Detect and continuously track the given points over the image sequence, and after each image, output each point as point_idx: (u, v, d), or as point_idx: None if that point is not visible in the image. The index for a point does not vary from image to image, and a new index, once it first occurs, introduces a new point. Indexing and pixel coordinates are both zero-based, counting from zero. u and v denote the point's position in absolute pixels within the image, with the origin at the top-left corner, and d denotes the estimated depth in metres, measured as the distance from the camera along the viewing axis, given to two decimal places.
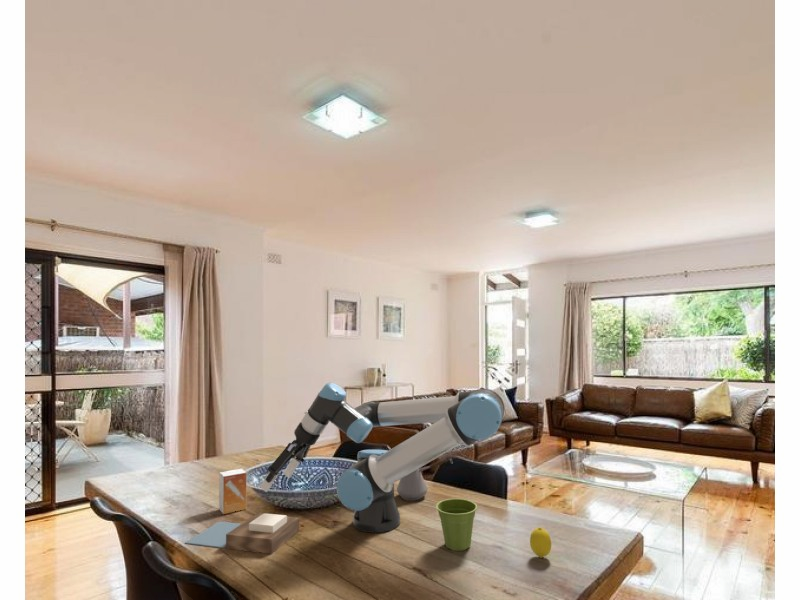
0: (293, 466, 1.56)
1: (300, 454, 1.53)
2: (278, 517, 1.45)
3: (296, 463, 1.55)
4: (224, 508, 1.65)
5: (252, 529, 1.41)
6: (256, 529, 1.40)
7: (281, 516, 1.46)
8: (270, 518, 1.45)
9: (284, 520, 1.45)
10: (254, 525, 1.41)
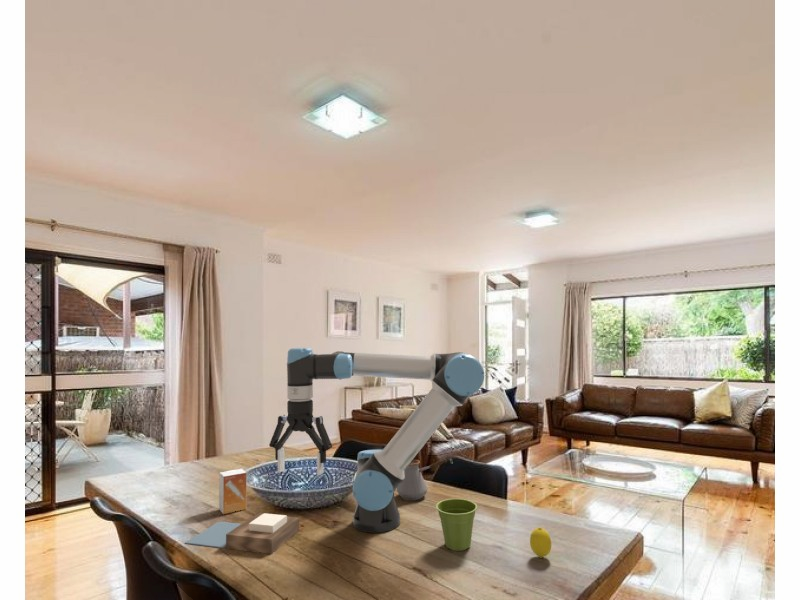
0: (283, 456, 1.44)
1: (288, 436, 1.44)
2: (278, 517, 1.45)
3: (283, 451, 1.45)
4: (224, 508, 1.65)
5: (252, 529, 1.41)
6: (256, 529, 1.40)
7: (281, 516, 1.46)
8: (270, 518, 1.45)
9: (284, 520, 1.45)
10: (254, 525, 1.41)
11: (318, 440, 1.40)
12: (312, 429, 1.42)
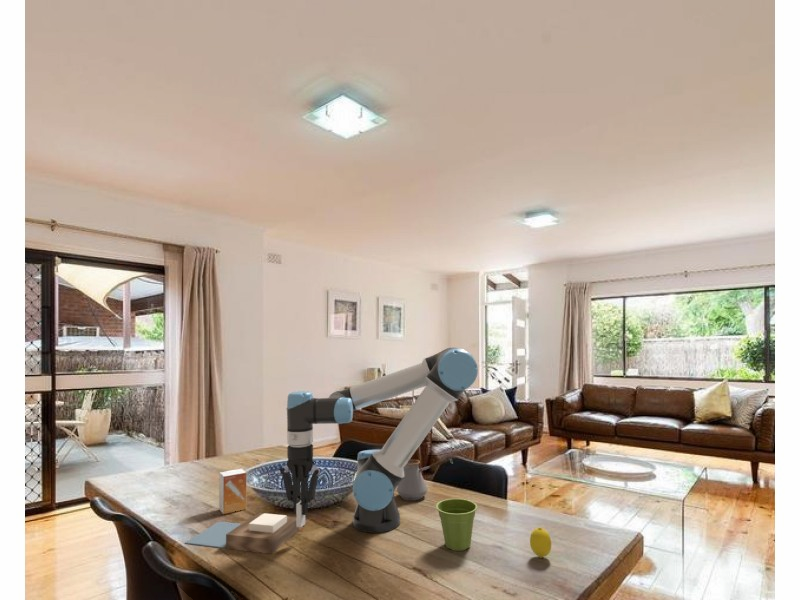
0: None
1: (299, 485, 1.42)
2: (278, 517, 1.45)
3: None
4: (224, 508, 1.65)
5: (252, 529, 1.41)
6: (256, 529, 1.40)
7: (281, 516, 1.46)
8: (270, 518, 1.45)
9: (284, 520, 1.45)
10: (254, 525, 1.41)
11: (305, 491, 1.40)
12: (306, 478, 1.41)
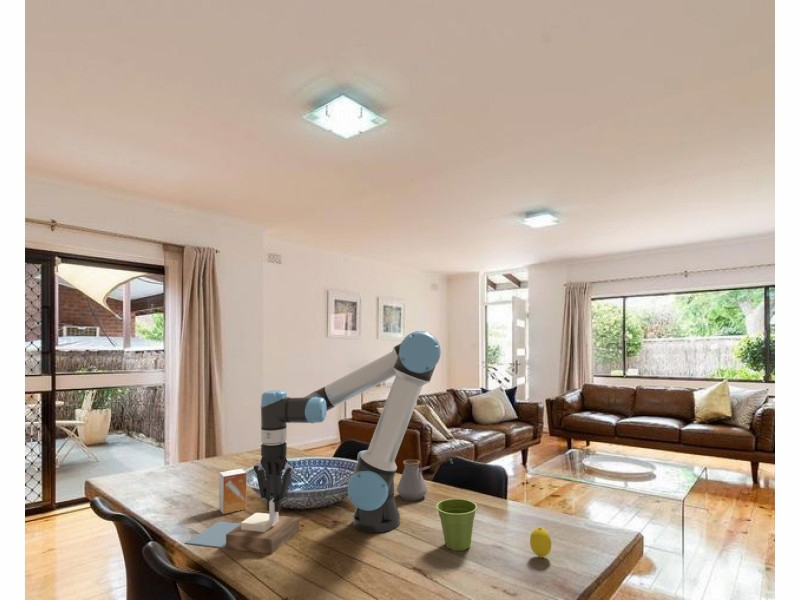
0: None
1: (273, 482, 1.45)
2: None
3: None
4: (224, 508, 1.65)
5: (244, 528, 1.41)
6: (248, 528, 1.41)
7: None
8: (262, 517, 1.46)
9: None
10: (246, 524, 1.41)
11: (278, 488, 1.43)
12: (279, 476, 1.44)
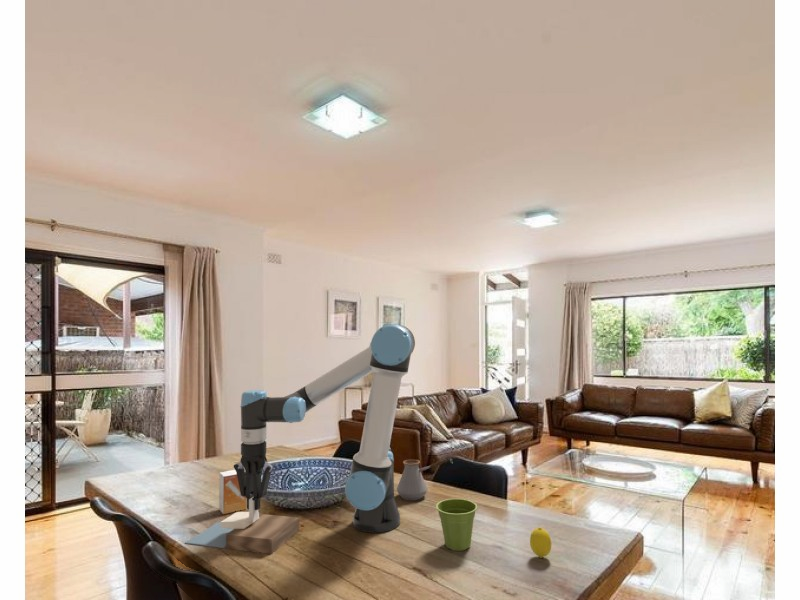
0: None
1: (253, 481, 1.47)
2: None
3: None
4: (224, 508, 1.65)
5: (224, 527, 1.43)
6: (228, 527, 1.43)
7: None
8: (242, 515, 1.48)
9: None
10: (225, 523, 1.43)
11: (258, 487, 1.45)
12: (259, 474, 1.45)
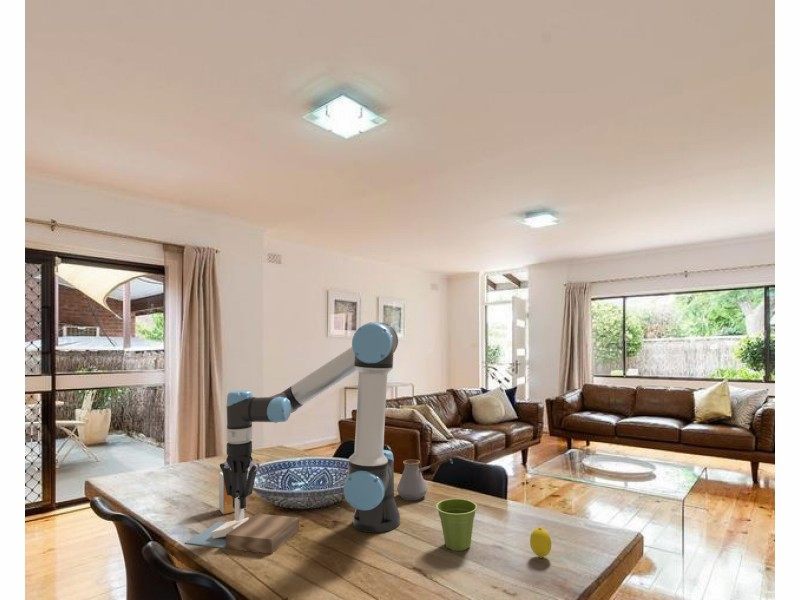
0: None
1: (238, 480, 1.48)
2: None
3: None
4: (224, 508, 1.65)
5: (215, 536, 1.44)
6: (219, 535, 1.44)
7: (242, 519, 1.49)
8: (232, 523, 1.48)
9: None
10: (216, 532, 1.44)
11: (243, 486, 1.46)
12: (244, 474, 1.47)
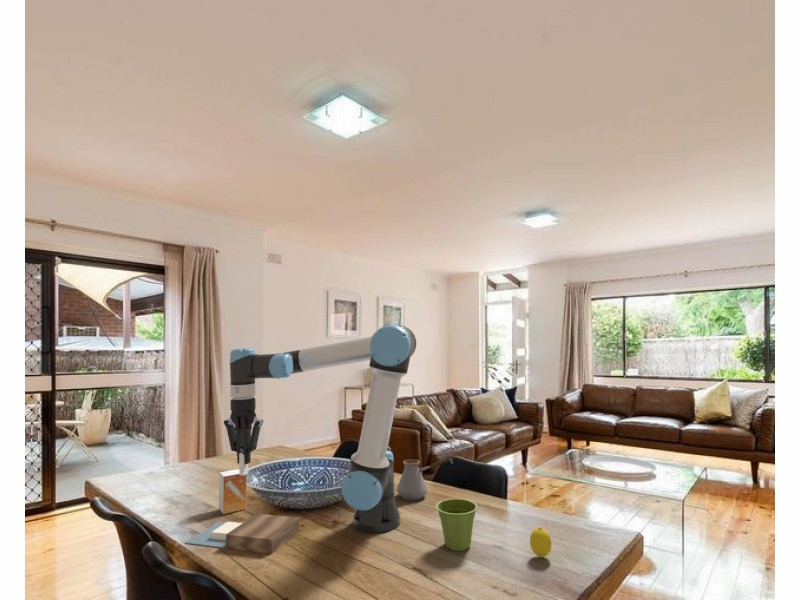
0: None
1: (242, 436, 1.50)
2: None
3: None
4: (224, 508, 1.65)
5: (214, 538, 1.44)
6: (218, 537, 1.44)
7: None
8: (232, 526, 1.48)
9: None
10: (216, 533, 1.44)
11: (248, 441, 1.48)
12: (248, 429, 1.49)
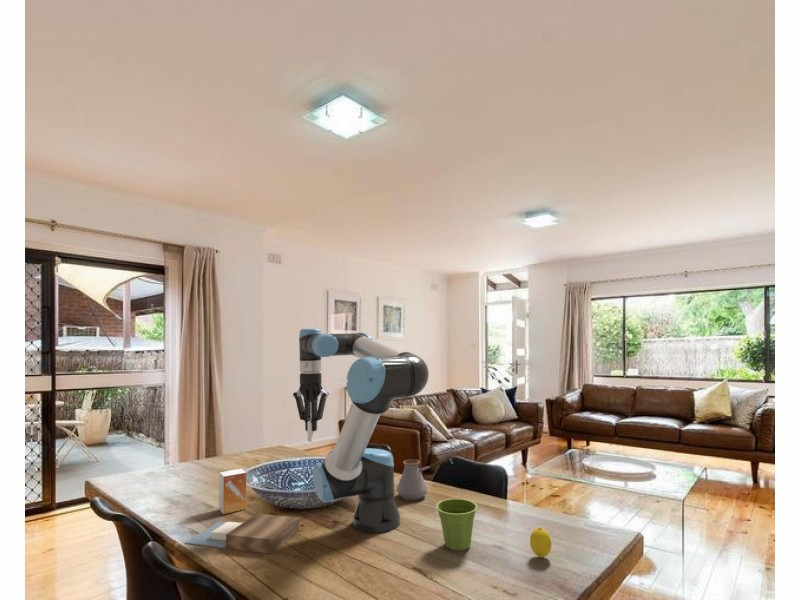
0: None
1: (310, 407, 1.68)
2: None
3: None
4: (224, 508, 1.65)
5: (214, 538, 1.44)
6: (218, 537, 1.44)
7: None
8: (232, 526, 1.48)
9: None
10: (216, 533, 1.44)
11: (315, 411, 1.66)
12: (315, 401, 1.67)
